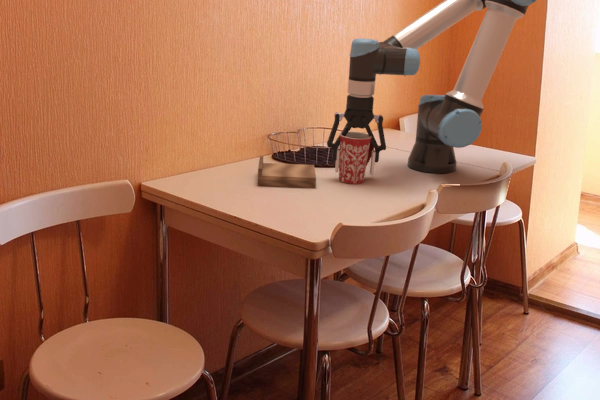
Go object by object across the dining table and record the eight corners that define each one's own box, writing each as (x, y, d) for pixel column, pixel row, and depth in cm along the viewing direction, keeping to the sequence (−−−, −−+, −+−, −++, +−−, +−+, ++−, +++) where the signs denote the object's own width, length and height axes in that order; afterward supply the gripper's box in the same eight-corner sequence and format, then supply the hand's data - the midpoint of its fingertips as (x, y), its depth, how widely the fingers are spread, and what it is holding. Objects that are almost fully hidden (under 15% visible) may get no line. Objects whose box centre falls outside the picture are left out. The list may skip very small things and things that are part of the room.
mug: (351, 186, 197) (356, 139, 192) (329, 178, 203) (333, 132, 199) (381, 180, 205) (386, 135, 201) (358, 173, 211) (363, 129, 207)
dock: (313, 174, 207) (314, 158, 206) (315, 188, 194) (316, 170, 192) (259, 172, 207) (259, 156, 205) (257, 186, 193) (258, 168, 192)
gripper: (397, 95, 200) (390, 170, 207) (320, 91, 200) (315, 166, 206) (402, 99, 193) (394, 177, 200) (321, 95, 192) (316, 173, 199)
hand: (354, 172), depth 203 cm, fingers closed on mug, 9 cm apart
